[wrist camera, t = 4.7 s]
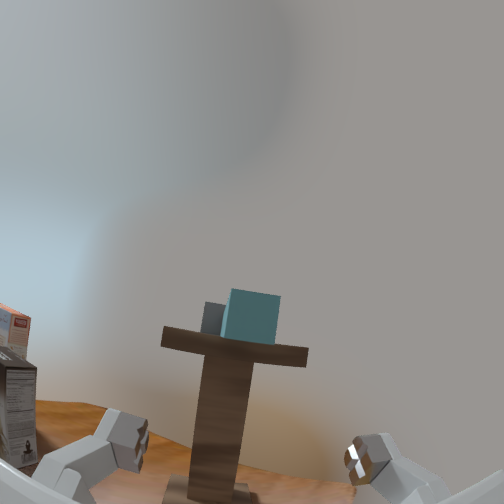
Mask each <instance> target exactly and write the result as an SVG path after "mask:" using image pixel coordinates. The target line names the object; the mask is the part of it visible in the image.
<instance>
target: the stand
mask: <svg viewBox="0 0 504 504" xmlns="http://www.w3.org/2000/svg"><path fill="white" fill-rule="evenodd" d="M161 347H166V348H171V349H175V350H180V351H186V352H191V353H196V354H202V355H205V357H204V364H203V371H202V377H201V385H200V392H199V399H198V407H197V414H196V421H195V429H194V438H193V446H192V454H191V462H190V471H189V477H186V476H181V475H176V474H171V476H170V479H169V482H168V486H167V489H166V492H165V495H164V498H163V501H162V504H252V500H251V496H250V492H249V488H248V484H245V483H235V478H236V473H237V467H238V460H239V455H240V449H241V442H242V436H243V430H244V424H245V418H246V411H247V405H248V398H249V392H250V385H251V379H252V372H253V365H254V362H255V363H263V364H272V365H282V366H293V367H306V364H307V357H308V349H309V348H306V347H297V346H288V345H281V344H274V345H271V344H263V343H255V342H248V341H241V340H234V339H228V338H223V337H221V336H217V335H211V334H205V333H200V332H195V331H189V330H184V329H179V328H173V327H167V326H164V328H163V334H162V340H161Z"/></svg>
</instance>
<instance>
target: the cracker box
mask: <svg viewBox="0 0 504 504" xmlns="http://www.w3.org/2000/svg"><path fill="white" fill-rule="evenodd" d="M30 323H31V318H30V317H29V316H26V315H24V314H22V313H20V312H17V311H16V310H13V309H11V308H9V307H7V306H5V305H3V304H1V303H0V346H4V347H8V348H9V349H10V350H12V351H13V352H14V353H16V354H17V355H19V356H20V357H22V358H23V359H25V360H26V356H27V345H28V338H29V330H30Z"/></svg>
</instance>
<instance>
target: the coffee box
mask: <svg viewBox="0 0 504 504" xmlns="http://www.w3.org/2000/svg"><path fill="white" fill-rule="evenodd" d="M36 376H37V367H35V366H34V365H32V364H31V363H29V362H27V361H26V360H25V359H23V358H22V357H20V356H19V355H17V354H16V353H14V352H13V351H12V350H10V349H9V348H8V347H4V346H0V458H1V459H3V460H4V461H5V462H7V463H8V464H10V465H11V466H13V467H14V468H16V469H18V468H21V467H25V466H28V465H32V464H35V463H38V455H37V443H36V422H35V396H36Z"/></svg>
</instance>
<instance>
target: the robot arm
mask: <svg viewBox="0 0 504 504" xmlns="http://www.w3.org/2000/svg"><path fill="white" fill-rule="evenodd" d="M147 426H148V421H147V419H144V418H140V417H137V416H134V415H130V414H127V413H124V412H121V411H118V410H114V409H112V408H109V409H108V410H107V411H106V413H105V415H104V416H103V418H102V420H101V422H100V424H99V426H98V428H97V430H96V432H95V434H94V436H92V435H89V436H86V437H84V438H82V439H80V440H78V441H76V442H73V443H71V444H69V445H67V446H64V447H62V448H60V449H58V450H55V451H53V452H50V453H48V454H46V455H44V456H43V458H42V460H41V461H40V463H39V465H38V467H37V468H36V470H35V472H34V474H33V475H32V477H31V478H30V477H29V476H27V475H25V474H24V473H22V472H20V471H19V470H17V469H16V468H14V467H13V466H11V465H10V464H8V463H7V462H5V461H4V460H3V459H1V458H0V504H96V502H95V500H94V498H93V496H92V495H91V493H90V491H89V490H88V489H90V488H91V487H93V486H94V485H96V484H97V483H99V482H100V481H102V480H103V479H105V478H106V477H107V476H109V475H110V474H112V473H113V472H115V471H116V470H117V469H118V468H120V469H124V470H127V471H131V472H134V473H138V474H139V473H140V470H141V467H142V464H143V456H142V455H143V454H145V453H146V450H147V447H148V441H149V432H148V431H147V430H146V429H147ZM344 461H345V465H346V468H348V469H349V470H350V473H349V477H350V480H351V483H352V486H358V485H365V484H370V485H371V486H372V487H373V488H374V489H375V490H377V491H378V492H379V493H380V494H381V495H382V496H383V497H385V498H386V499H387V500H388V501H389V502H390V503H392V504H504V470H498V471H496V472H495V473H493V474H492V475H490V476H488V477H487V478H485V479H483V480H482V481H480V482H478V483H477V484H475V485H473V486H471V487H469V488H467V489H465V490H463V491H462V492H460V493H458V494H456V495H454V496H452V495H451V493H450V491H449V489H448V488H447V486H446V484H445V483H444V481H443V479H442V478H441V477H439V476H437V475H436V474H434V473H432V472H430V471H429V470H427V469H425V468H423V467H422V466H420V465H418V464H416V463H415V462H413V461H411V460H410V459H408V458H406V457H402V455H401V453H400V451H399V449H398V447H397V446H396V444H395V442H394V440H393V438H392V437H391V435H390V434H389V433H381V434H372V435H363V436H357V437H355V438H354V440H353V445H352V446H351V447H349V448H348V449H347V451H346V452H345V457H344Z"/></svg>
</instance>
